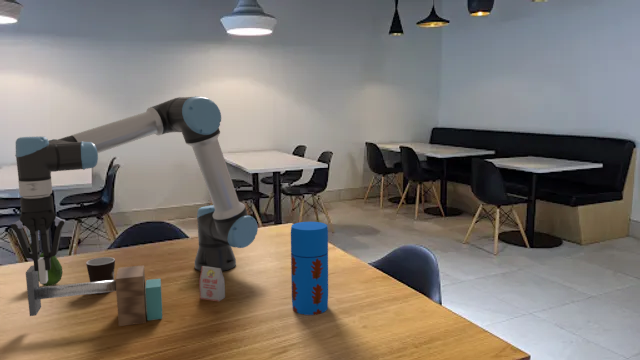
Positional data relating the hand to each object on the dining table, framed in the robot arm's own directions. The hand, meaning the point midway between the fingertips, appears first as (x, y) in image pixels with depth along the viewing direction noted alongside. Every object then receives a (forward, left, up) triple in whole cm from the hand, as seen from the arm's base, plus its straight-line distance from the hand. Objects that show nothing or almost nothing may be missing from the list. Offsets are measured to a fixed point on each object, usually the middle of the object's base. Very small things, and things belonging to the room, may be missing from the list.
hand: (44, 281), depth 137 cm
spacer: (-28, 0, -13) cm, 31 cm away
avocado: (+6, -36, -13) cm, 39 cm away
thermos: (-72, +9, -13) cm, 74 cm away
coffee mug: (-12, -27, -13) cm, 32 cm away
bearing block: (-22, 0, -13) cm, 25 cm away
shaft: (-9, 0, -8) cm, 12 cm away
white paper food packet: (-45, -8, -13) cm, 47 cm away
